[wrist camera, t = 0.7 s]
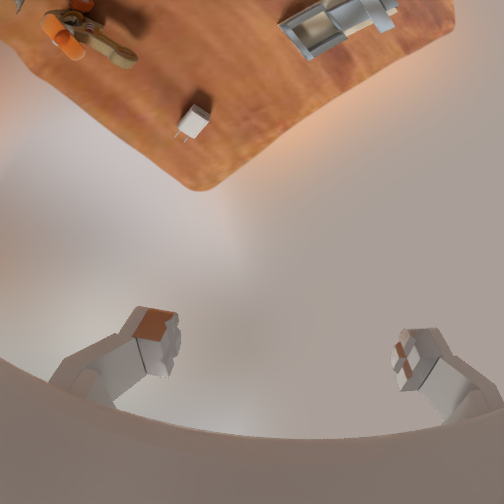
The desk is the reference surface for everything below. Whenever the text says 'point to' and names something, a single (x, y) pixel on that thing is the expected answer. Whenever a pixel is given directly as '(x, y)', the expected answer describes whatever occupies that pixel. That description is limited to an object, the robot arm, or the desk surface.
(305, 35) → the jig
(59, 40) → the toy helicopter
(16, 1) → the rhinoceros figurine
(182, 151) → the desk surface
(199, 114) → the usb wall charger
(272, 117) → the desk surface
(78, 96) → the desk surface
